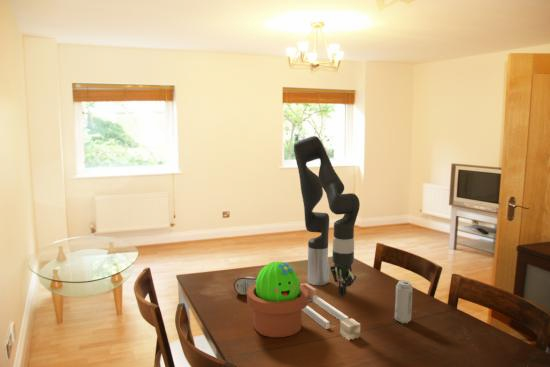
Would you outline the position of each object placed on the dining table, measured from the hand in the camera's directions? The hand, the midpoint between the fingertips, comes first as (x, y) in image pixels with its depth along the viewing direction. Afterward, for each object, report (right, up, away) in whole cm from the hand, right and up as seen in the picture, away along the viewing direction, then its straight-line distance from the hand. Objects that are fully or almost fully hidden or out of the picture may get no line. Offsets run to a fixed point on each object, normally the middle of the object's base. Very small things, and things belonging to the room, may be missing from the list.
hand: (342, 295), depth 155 cm
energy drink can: (+24, -12, +8) cm, 28 cm away
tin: (-35, -8, +32) cm, 48 cm away
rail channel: (-8, -10, +17) cm, 21 cm away
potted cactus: (-23, -12, +3) cm, 27 cm away
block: (+2, -13, -3) cm, 14 cm away
